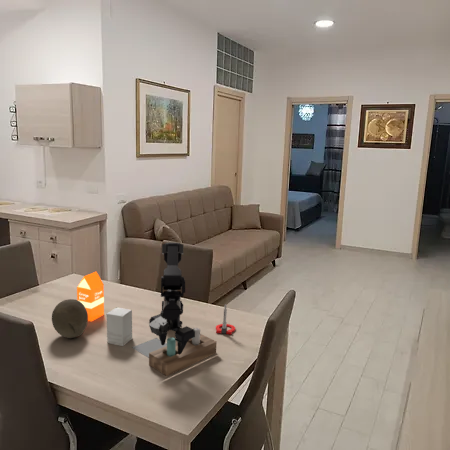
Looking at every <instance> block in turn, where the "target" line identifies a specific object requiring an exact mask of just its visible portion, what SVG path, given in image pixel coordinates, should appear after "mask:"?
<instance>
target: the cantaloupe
mask: <svg viewBox="0 0 450 450" xmlns="http://www.w3.org/2000/svg"><path fill="white" fill-rule="evenodd" d="M51 322H52V326H53V328H54V330H55V331H56V333H58V334H59V335H60V336H61V337H64V338H67V339H74V338H77V337H79V336H81V335H82V334H83V333H84V332H85V330H86V328H87V325H88V322H89V321H88V313H87V310H86V308H85V306H84V305H83V304H82V303H81V302H80V301H78V300H77V299H64V300H61V301H60V302H59V303H58V304H57V305H56V306H55V307H54V309H53V310H52V314H51Z"/></svg>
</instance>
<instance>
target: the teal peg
mask: <svg viewBox="0 0 450 450" xmlns="http://www.w3.org/2000/svg"><path fill="white" fill-rule="evenodd" d="M175 338H176V337H167V338H166V343H167V355H168V356H170V357H172V356H174V355H175V347H176V342H177V341H176V340H175Z"/></svg>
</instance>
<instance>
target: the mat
mask: <svg viewBox="0 0 450 450" xmlns="http://www.w3.org/2000/svg"><path fill="white" fill-rule="evenodd" d="M165 346H167V342H165V344H164V345H162V344H161V341H160V338H159V337H156V338H153V339H150V340H148V341H145V342H141V343H139V344H137V345H134V346H131V348H132V349H133V350H135V351H136V352H139V353H140V354H141V355H143V356H145V357H147V358H148V359H149V353H150V352H153V351H155V350H158V349H160V348H163V347H165Z"/></svg>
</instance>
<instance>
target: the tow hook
mask: <svg viewBox="0 0 450 450" xmlns="http://www.w3.org/2000/svg"><path fill="white" fill-rule="evenodd" d="M227 311H228V309H227V304H224V308H223V322H222V323H220V324H217V325H216V326H215V330H216V331H215V333H217V334H221V335H232V334H233V333H234V332H235V331H236V327H235V326H234V325H232V324H229V323H227V313H228V312H227ZM228 328H230V329H228Z"/></svg>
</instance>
